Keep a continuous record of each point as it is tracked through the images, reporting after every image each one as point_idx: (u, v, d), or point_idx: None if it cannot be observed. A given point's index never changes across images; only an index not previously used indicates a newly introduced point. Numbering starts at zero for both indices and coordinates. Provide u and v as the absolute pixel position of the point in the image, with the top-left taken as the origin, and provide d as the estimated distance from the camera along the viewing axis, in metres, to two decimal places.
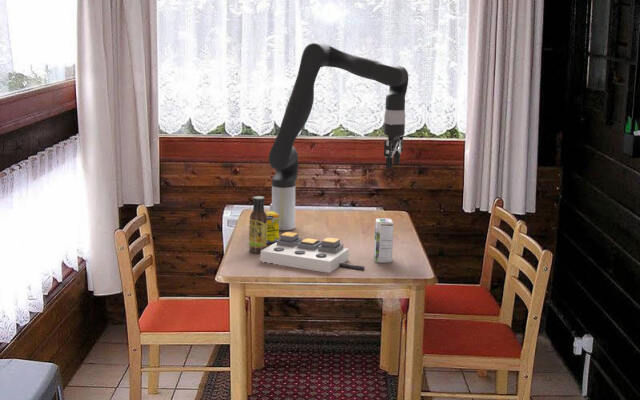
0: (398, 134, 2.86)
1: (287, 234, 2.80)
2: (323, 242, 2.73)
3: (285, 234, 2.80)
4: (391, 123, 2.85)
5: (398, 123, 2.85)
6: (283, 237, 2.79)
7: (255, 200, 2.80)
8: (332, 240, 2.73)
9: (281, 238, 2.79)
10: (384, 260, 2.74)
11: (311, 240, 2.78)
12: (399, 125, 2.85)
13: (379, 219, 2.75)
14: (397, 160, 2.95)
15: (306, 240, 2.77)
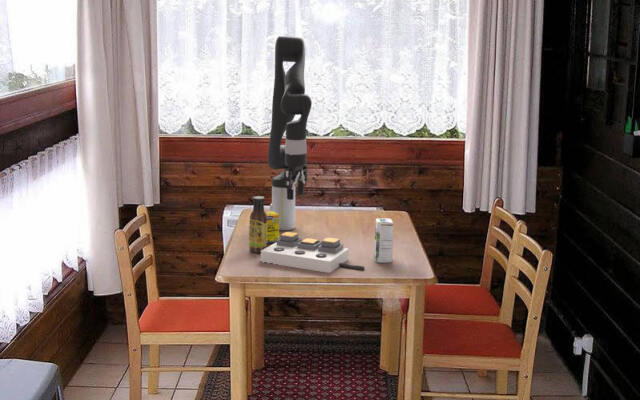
0: (299, 164, 2.75)
1: (287, 234, 2.80)
2: (323, 242, 2.73)
3: (285, 234, 2.80)
4: (291, 153, 2.74)
5: (298, 153, 2.74)
6: (283, 237, 2.79)
7: (255, 200, 2.80)
8: (332, 240, 2.73)
9: (281, 238, 2.79)
10: (384, 260, 2.74)
11: (311, 240, 2.78)
12: (300, 155, 2.74)
13: (379, 219, 2.75)
14: (301, 190, 2.84)
15: (306, 240, 2.77)
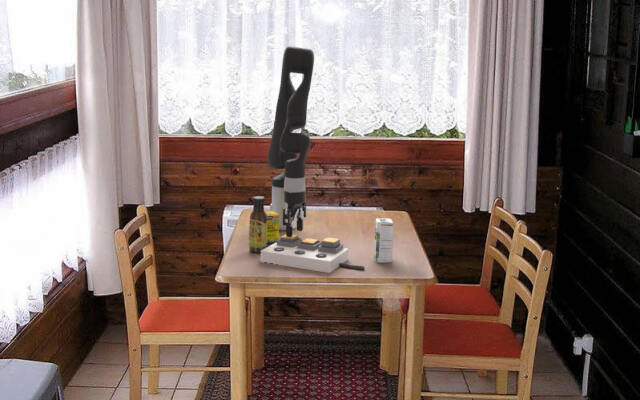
0: (298, 202, 2.78)
1: (287, 236, 2.80)
2: (323, 242, 2.73)
3: (285, 236, 2.80)
4: (290, 191, 2.77)
5: (297, 191, 2.77)
6: (283, 239, 2.79)
7: (255, 200, 2.80)
8: (332, 240, 2.73)
9: (281, 240, 2.79)
10: (384, 260, 2.74)
11: (311, 240, 2.78)
12: (299, 193, 2.77)
13: (379, 219, 2.75)
14: (300, 227, 2.87)
15: (306, 240, 2.77)
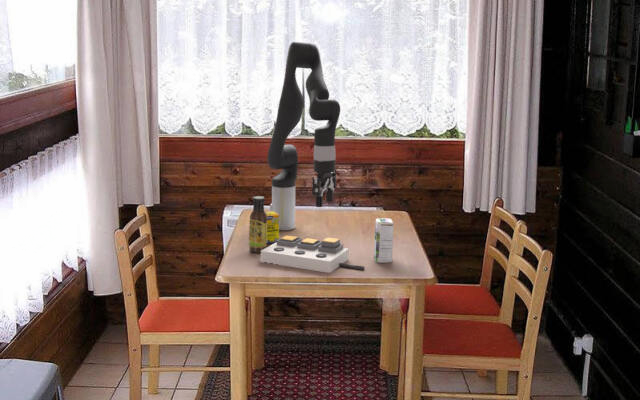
0: (328, 171, 2.70)
1: (287, 238, 2.80)
2: (323, 242, 2.73)
3: (285, 238, 2.80)
4: (320, 159, 2.69)
5: (327, 159, 2.69)
6: (283, 240, 2.79)
7: (255, 200, 2.80)
8: (332, 240, 2.73)
9: None
10: (384, 260, 2.74)
11: (311, 240, 2.78)
12: (329, 162, 2.69)
13: (379, 219, 2.75)
14: (330, 198, 2.79)
15: (306, 240, 2.77)
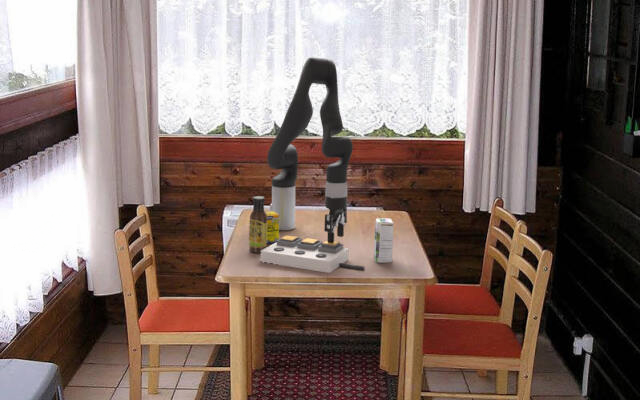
0: (340, 208, 2.71)
1: (287, 238, 2.80)
2: (323, 244, 2.73)
3: (285, 238, 2.80)
4: (332, 196, 2.71)
5: (339, 196, 2.70)
6: (283, 240, 2.79)
7: (255, 200, 2.80)
8: None
9: None
10: (384, 260, 2.74)
11: (311, 240, 2.78)
12: (341, 199, 2.71)
13: (379, 219, 2.75)
14: (340, 233, 2.81)
15: (306, 240, 2.77)
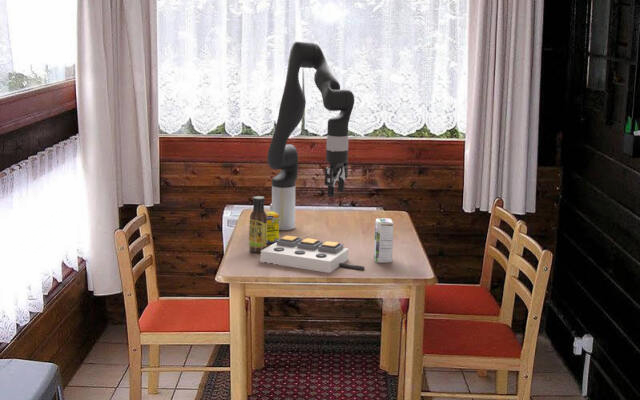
0: (340, 161, 2.70)
1: (287, 238, 2.80)
2: (323, 246, 2.73)
3: (285, 238, 2.80)
4: (333, 150, 2.69)
5: (340, 150, 2.69)
6: (283, 240, 2.79)
7: (255, 200, 2.80)
8: (332, 244, 2.74)
9: None
10: (384, 260, 2.74)
11: (311, 240, 2.78)
12: (342, 152, 2.69)
13: (379, 219, 2.75)
14: (341, 188, 2.79)
15: (306, 240, 2.77)
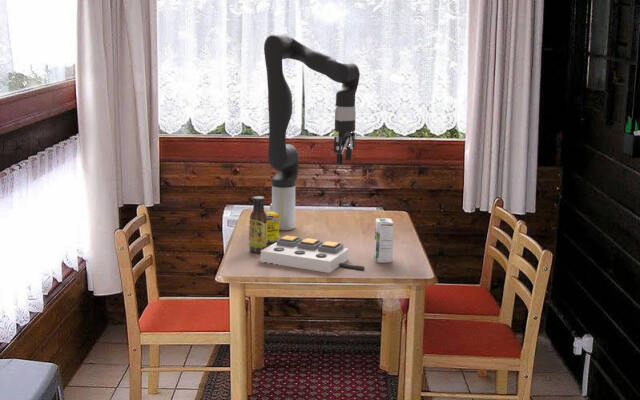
0: (348, 130, 2.87)
1: (287, 238, 2.80)
2: (323, 246, 2.73)
3: (285, 238, 2.80)
4: (341, 119, 2.86)
5: (348, 119, 2.86)
6: (283, 240, 2.79)
7: (255, 200, 2.80)
8: (332, 244, 2.74)
9: None
10: (384, 260, 2.74)
11: (311, 240, 2.78)
12: (349, 122, 2.86)
13: (379, 219, 2.75)
14: (349, 156, 2.96)
15: (306, 240, 2.77)
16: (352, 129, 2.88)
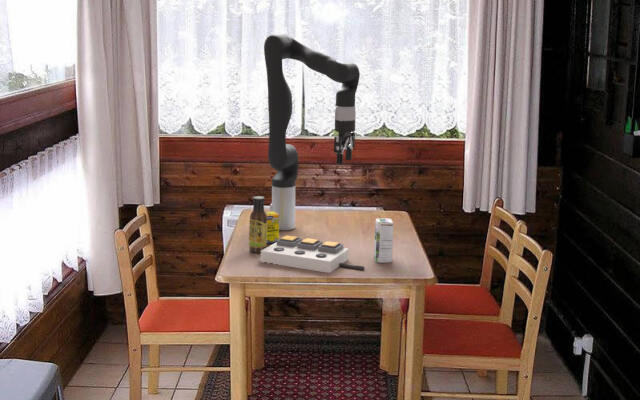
0: (348, 130, 2.87)
1: (287, 238, 2.80)
2: (323, 246, 2.73)
3: (285, 238, 2.80)
4: (341, 119, 2.86)
5: (348, 119, 2.86)
6: (283, 240, 2.79)
7: (255, 200, 2.80)
8: (332, 244, 2.74)
9: None
10: (384, 260, 2.74)
11: (311, 240, 2.78)
12: (349, 122, 2.86)
13: (379, 219, 2.75)
14: (349, 156, 2.96)
15: (306, 240, 2.77)
16: (352, 129, 2.88)
